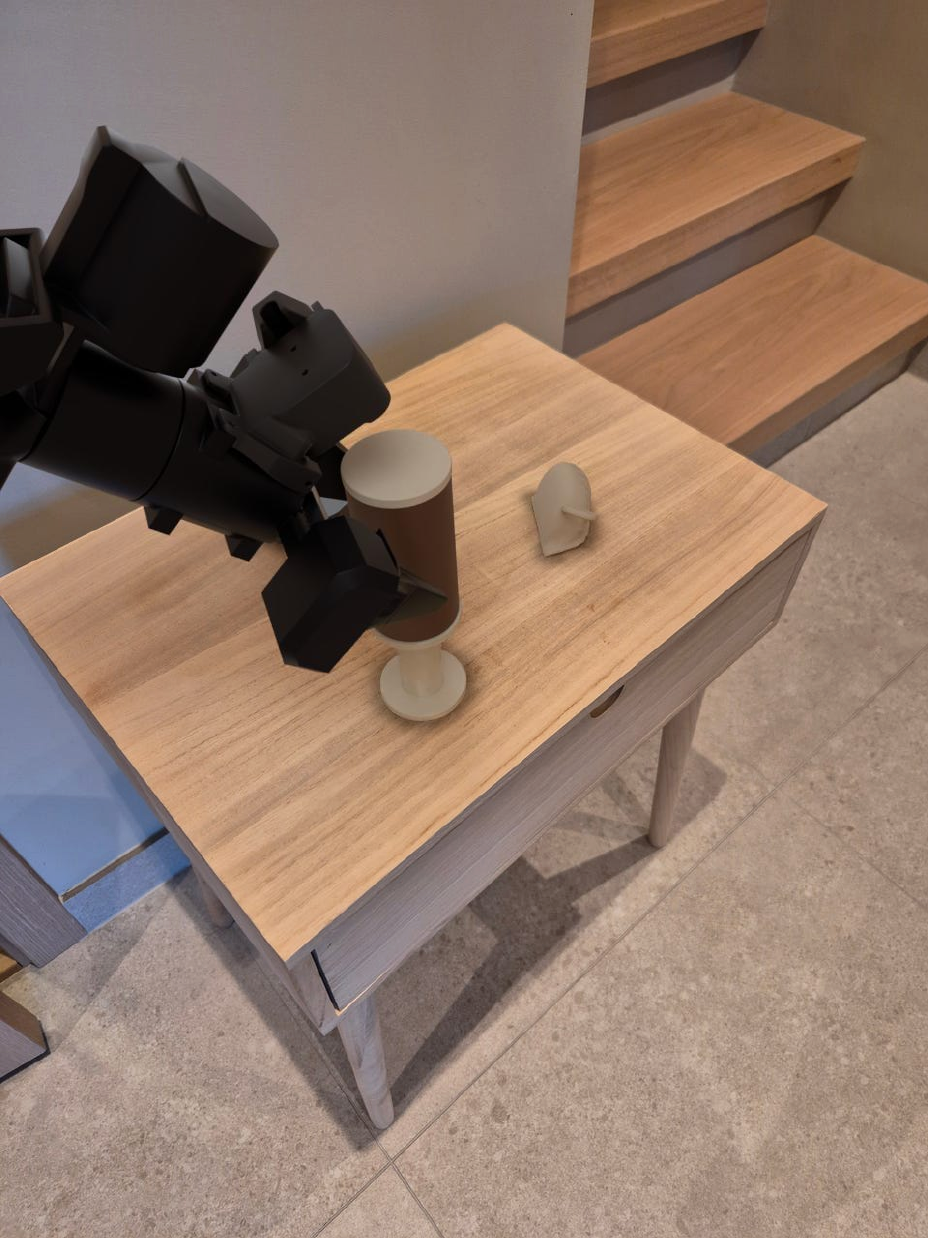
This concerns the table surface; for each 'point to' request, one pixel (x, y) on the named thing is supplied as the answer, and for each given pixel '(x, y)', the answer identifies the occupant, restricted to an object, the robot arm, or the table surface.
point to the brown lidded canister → (408, 514)
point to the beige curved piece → (563, 508)
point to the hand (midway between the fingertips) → (413, 546)
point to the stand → (422, 677)
